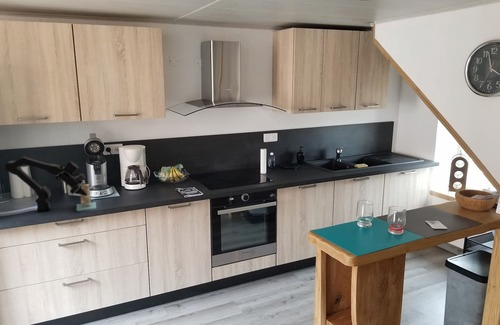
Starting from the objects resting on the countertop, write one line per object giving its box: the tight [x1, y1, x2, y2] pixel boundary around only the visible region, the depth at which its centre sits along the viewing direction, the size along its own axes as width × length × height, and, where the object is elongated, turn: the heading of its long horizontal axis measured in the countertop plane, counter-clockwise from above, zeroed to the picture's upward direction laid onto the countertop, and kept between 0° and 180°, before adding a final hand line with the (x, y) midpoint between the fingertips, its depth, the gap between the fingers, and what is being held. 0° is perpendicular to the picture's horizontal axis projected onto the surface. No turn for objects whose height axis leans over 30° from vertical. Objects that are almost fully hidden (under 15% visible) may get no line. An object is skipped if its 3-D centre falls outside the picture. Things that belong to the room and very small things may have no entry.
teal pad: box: [76, 201, 97, 212], centre depth 258 cm, size 12×12×1 cm
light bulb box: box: [66, 179, 86, 197], centre depth 285 cm, size 11×7×11 cm, turn 75°
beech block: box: [80, 183, 92, 205], centre depth 257 cm, size 5×5×13 cm
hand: (87, 194), depth 257 cm, fingers closed on beech block, 5 cm apart
